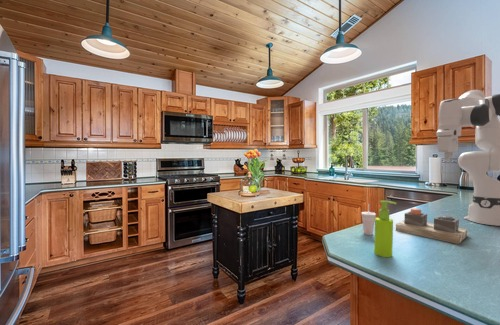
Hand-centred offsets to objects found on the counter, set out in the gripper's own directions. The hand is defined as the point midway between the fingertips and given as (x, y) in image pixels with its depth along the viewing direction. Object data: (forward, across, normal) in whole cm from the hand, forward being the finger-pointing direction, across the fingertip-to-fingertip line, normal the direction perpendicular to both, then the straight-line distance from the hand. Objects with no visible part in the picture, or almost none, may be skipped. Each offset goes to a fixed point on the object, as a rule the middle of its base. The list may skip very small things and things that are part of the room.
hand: (448, 161), depth 119 cm
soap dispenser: (+33, +53, -7) cm, 63 cm away
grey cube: (+29, +10, +2) cm, 31 cm away
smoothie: (+34, +34, -22) cm, 53 cm away
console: (+34, +10, -4) cm, 35 cm away
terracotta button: (+28, +10, -10) cm, 31 cm away
